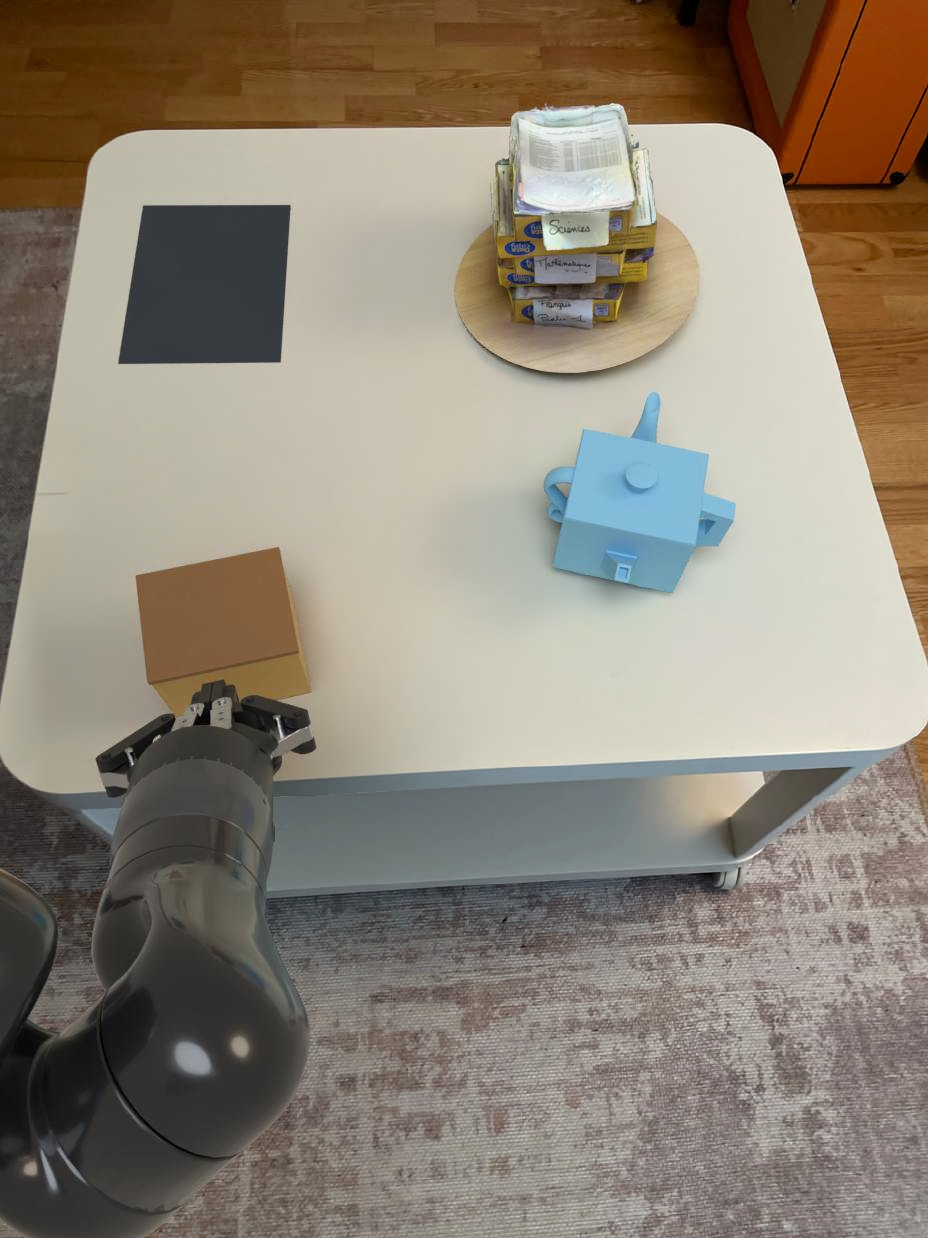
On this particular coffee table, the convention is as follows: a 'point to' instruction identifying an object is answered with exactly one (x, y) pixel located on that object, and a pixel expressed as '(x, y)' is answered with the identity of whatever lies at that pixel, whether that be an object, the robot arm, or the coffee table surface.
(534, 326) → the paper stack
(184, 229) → the mat
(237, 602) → the toy box
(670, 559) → the teapot
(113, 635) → the coffee table surface
